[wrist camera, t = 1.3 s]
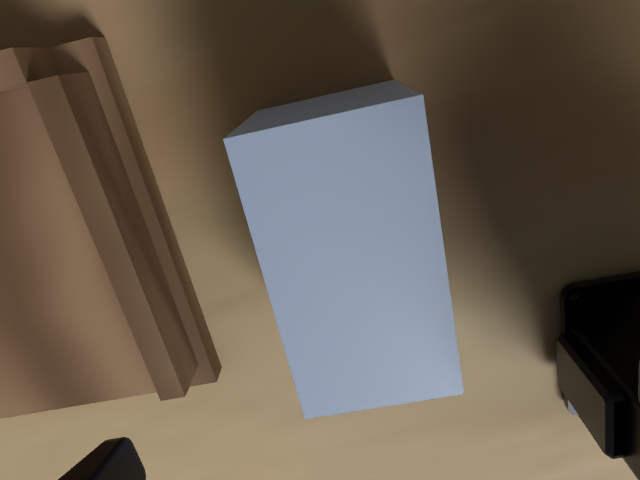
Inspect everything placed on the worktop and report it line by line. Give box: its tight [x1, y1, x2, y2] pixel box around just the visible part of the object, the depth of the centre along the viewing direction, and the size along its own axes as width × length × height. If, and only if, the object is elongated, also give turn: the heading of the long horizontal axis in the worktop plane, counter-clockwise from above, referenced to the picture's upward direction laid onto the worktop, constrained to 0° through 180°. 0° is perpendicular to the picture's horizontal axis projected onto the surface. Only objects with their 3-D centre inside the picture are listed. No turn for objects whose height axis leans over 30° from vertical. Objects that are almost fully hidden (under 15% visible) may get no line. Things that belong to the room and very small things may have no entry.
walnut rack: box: [0, 37, 222, 419], centre depth 18 cm, size 12×14×3 cm
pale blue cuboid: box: [223, 80, 464, 419], centre depth 16 cm, size 5×9×6 cm, turn 12°
